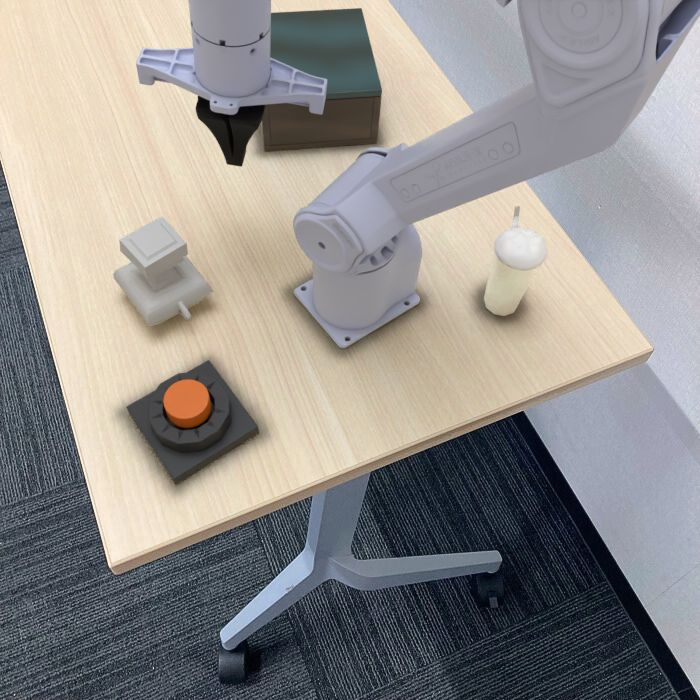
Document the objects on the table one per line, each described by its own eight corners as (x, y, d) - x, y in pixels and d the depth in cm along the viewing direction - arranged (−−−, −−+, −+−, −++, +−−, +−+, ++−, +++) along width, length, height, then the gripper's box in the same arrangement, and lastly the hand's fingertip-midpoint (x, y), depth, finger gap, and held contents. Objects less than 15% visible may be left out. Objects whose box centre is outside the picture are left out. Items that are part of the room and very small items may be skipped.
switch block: (210, 366, 64) (206, 348, 61) (259, 432, 60) (257, 416, 58) (128, 413, 61) (120, 396, 58) (175, 485, 58) (169, 470, 55)
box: (254, 78, 85) (250, 29, 80) (359, 71, 86) (362, 23, 81) (264, 151, 78) (260, 104, 73) (377, 143, 80) (381, 96, 74)
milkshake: (515, 275, 71) (543, 204, 62) (529, 320, 68) (559, 252, 59) (470, 278, 70) (492, 207, 62) (482, 323, 67) (506, 255, 59)
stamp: (112, 286, 68) (89, 226, 61) (174, 254, 70) (158, 192, 63) (161, 350, 64) (142, 295, 57) (224, 315, 67) (213, 257, 59)
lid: (249, 20, 79) (249, 13, 79) (361, 14, 81) (361, 7, 80) (260, 104, 73) (260, 97, 72) (381, 96, 74) (382, 90, 74)
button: (197, 381, 60) (194, 371, 58) (220, 413, 58) (217, 403, 57) (158, 404, 58) (155, 393, 57) (181, 436, 57) (177, 427, 56)
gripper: (114, 39, 49) (142, 177, 61) (323, 75, 49) (311, 205, 61) (141, -23, 52) (162, 119, 64) (336, 11, 53) (322, 146, 65)
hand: (236, 157), depth 63 cm, fingers closed
